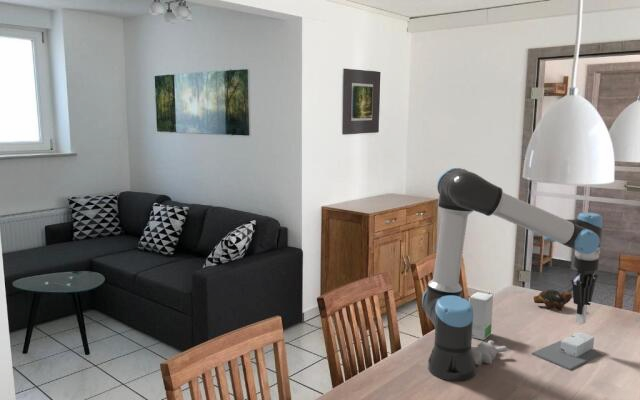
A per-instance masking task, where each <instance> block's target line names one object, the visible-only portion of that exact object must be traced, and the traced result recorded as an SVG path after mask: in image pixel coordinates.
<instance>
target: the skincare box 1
mask: <svg viewBox="0 0 640 400" xmlns="http://www.w3.org/2000/svg"><path fill="white" fill-rule="evenodd" d="M493 300H494V294H490V293H485V292H481V291H477V292H475V293H473V294H472V295H471V296H470V297H469V302H470V303H471V304H472V307H473V315H474V317H473V326H472V338H474V339H477V340H481V341H485V340H486V339H487V338H488V337H490V335H491V334H492V324H493V323H492V321H493V307H494V306H493V302H494V301H493Z"/></svg>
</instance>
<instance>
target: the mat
mask: <svg viewBox="0 0 640 400" xmlns="http://www.w3.org/2000/svg"><path fill="white" fill-rule="evenodd" d="M564 339H565V338H563V339H561V340H559V341H556V342H554V343H552V344H549V345H547V346H545V347H543V348H542V347H541V348H540V349H538V350H535V351H533V352H531V355H533V356H535V357H537V358H540V359H542V360H545V361H547V362H549V363H552V364H554V365H557V366H559V367H561V368H563V369H566V370H569V371H572V370H573V369H575V368H577V367H579V366H581V365H584V364H585V363H588V362H590V361H592V360H594V359H596V358H598V357H600V356H602V355H603V352H601V351H599V350H598V351H597V350H595V349H593V348H592V349H590V350H589V351H587V352H585V353H583V354H582V355H580V356H578V357H575V356H572V355H568V354H566V353H564V352H561V351H560V350H561V341H562V340H564Z"/></svg>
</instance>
